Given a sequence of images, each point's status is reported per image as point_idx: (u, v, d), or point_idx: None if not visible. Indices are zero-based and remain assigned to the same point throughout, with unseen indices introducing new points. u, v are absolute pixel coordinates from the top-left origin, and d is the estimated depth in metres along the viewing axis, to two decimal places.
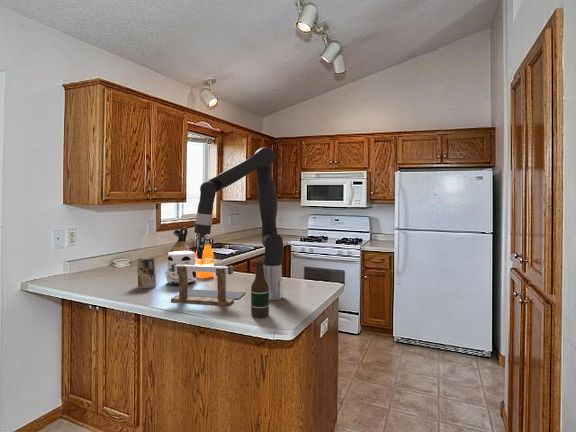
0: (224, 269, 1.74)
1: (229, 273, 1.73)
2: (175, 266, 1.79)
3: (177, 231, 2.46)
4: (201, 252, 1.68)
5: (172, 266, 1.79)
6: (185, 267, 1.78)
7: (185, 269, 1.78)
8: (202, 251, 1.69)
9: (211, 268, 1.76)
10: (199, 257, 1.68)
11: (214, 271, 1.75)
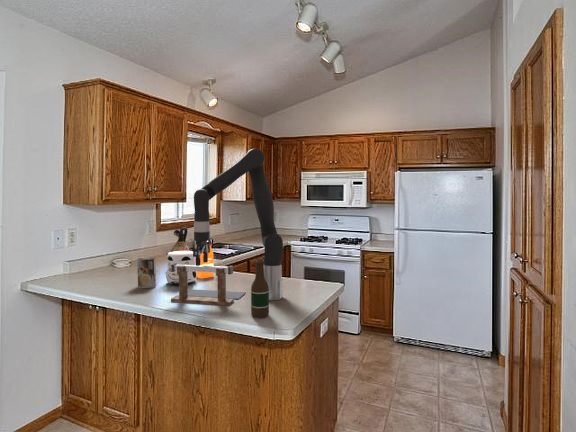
0: (224, 269, 1.74)
1: (229, 273, 1.73)
2: (175, 266, 1.79)
3: (177, 231, 2.46)
4: (197, 259, 1.72)
5: (172, 266, 1.79)
6: (185, 267, 1.78)
7: (185, 269, 1.78)
8: (199, 258, 1.73)
9: (211, 268, 1.76)
10: (196, 264, 1.73)
11: (214, 271, 1.75)
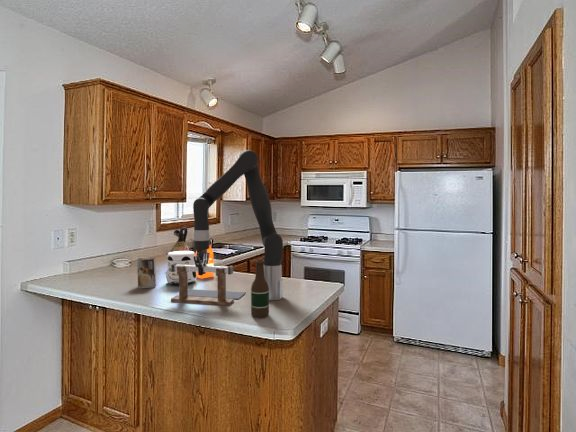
0: (224, 269, 1.74)
1: (229, 273, 1.73)
2: (175, 266, 1.79)
3: (177, 231, 2.46)
4: (200, 269, 1.75)
5: (172, 266, 1.79)
6: (185, 267, 1.78)
7: (185, 269, 1.78)
8: (201, 268, 1.76)
9: (211, 268, 1.76)
10: (199, 274, 1.76)
11: (214, 271, 1.75)
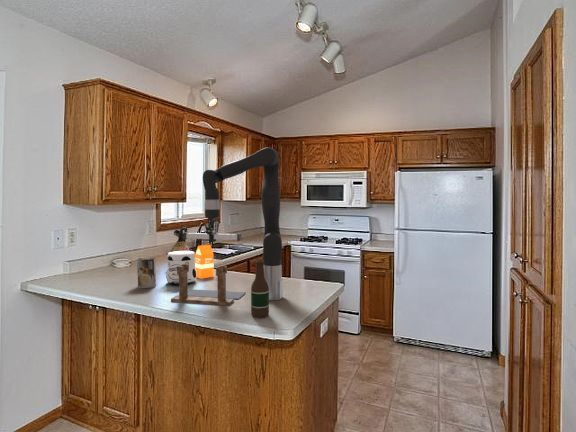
0: (233, 236, 1.86)
1: (238, 239, 1.85)
2: (187, 234, 1.91)
3: (177, 231, 2.46)
4: (211, 236, 1.87)
5: (184, 234, 1.91)
6: (196, 235, 1.90)
7: (196, 237, 1.90)
8: (212, 235, 1.88)
9: (221, 235, 1.87)
10: (210, 240, 1.87)
11: (224, 238, 1.87)
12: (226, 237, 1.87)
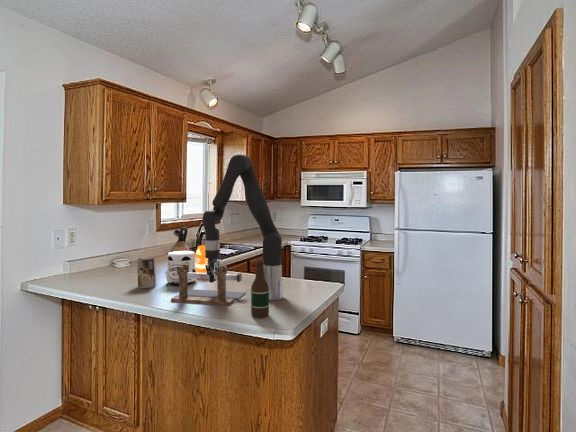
0: (233, 277, 1.87)
1: (238, 280, 1.86)
2: (187, 274, 1.92)
3: (177, 231, 2.46)
4: (211, 276, 1.88)
5: None
6: (197, 275, 1.91)
7: (197, 276, 1.91)
8: (212, 275, 1.89)
9: None
10: (210, 281, 1.89)
11: None
12: (226, 278, 1.88)
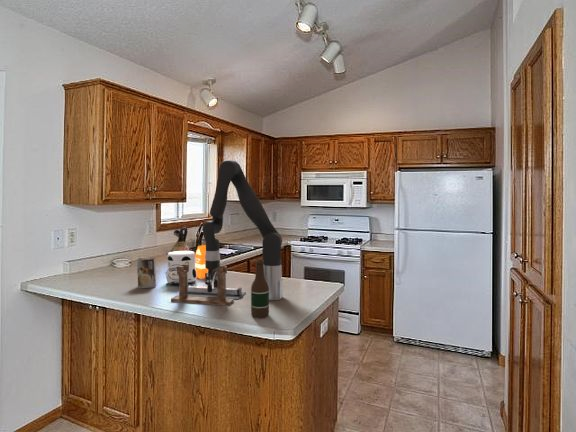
0: (233, 291, 1.88)
1: (238, 295, 1.87)
2: (188, 288, 1.93)
3: (177, 231, 2.46)
4: (209, 286, 1.86)
5: None
6: (197, 289, 1.92)
7: (197, 291, 1.92)
8: (211, 285, 1.87)
9: None
10: (208, 290, 1.87)
11: None
12: (227, 292, 1.89)
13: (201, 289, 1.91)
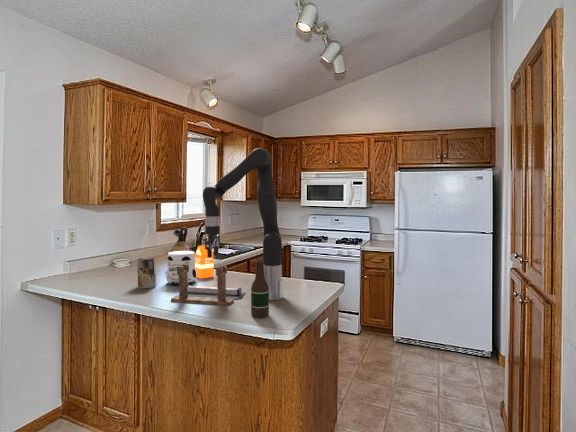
0: (233, 291, 1.88)
1: (238, 295, 1.87)
2: (188, 288, 1.93)
3: (177, 231, 2.46)
4: (209, 251, 1.85)
5: None
6: (197, 289, 1.92)
7: (197, 291, 1.92)
8: (210, 250, 1.86)
9: None
10: (208, 256, 1.85)
11: None
12: (227, 292, 1.89)
13: (201, 289, 1.91)
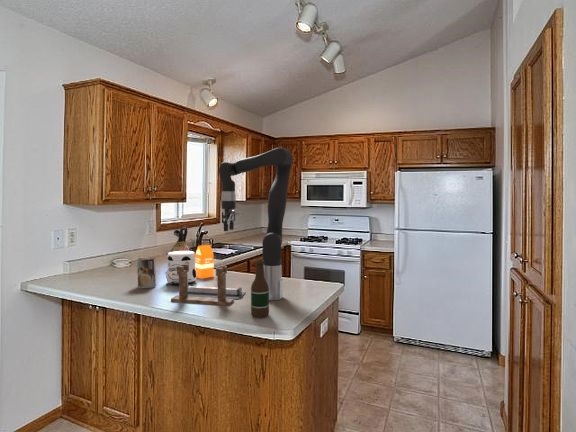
0: (233, 291, 1.88)
1: (238, 295, 1.87)
2: (188, 288, 1.93)
3: (177, 231, 2.46)
4: (225, 225, 1.91)
5: None
6: (197, 289, 1.92)
7: (197, 291, 1.92)
8: (227, 224, 1.91)
9: None
10: (224, 229, 1.91)
11: None
12: (227, 292, 1.89)
13: (201, 289, 1.91)
